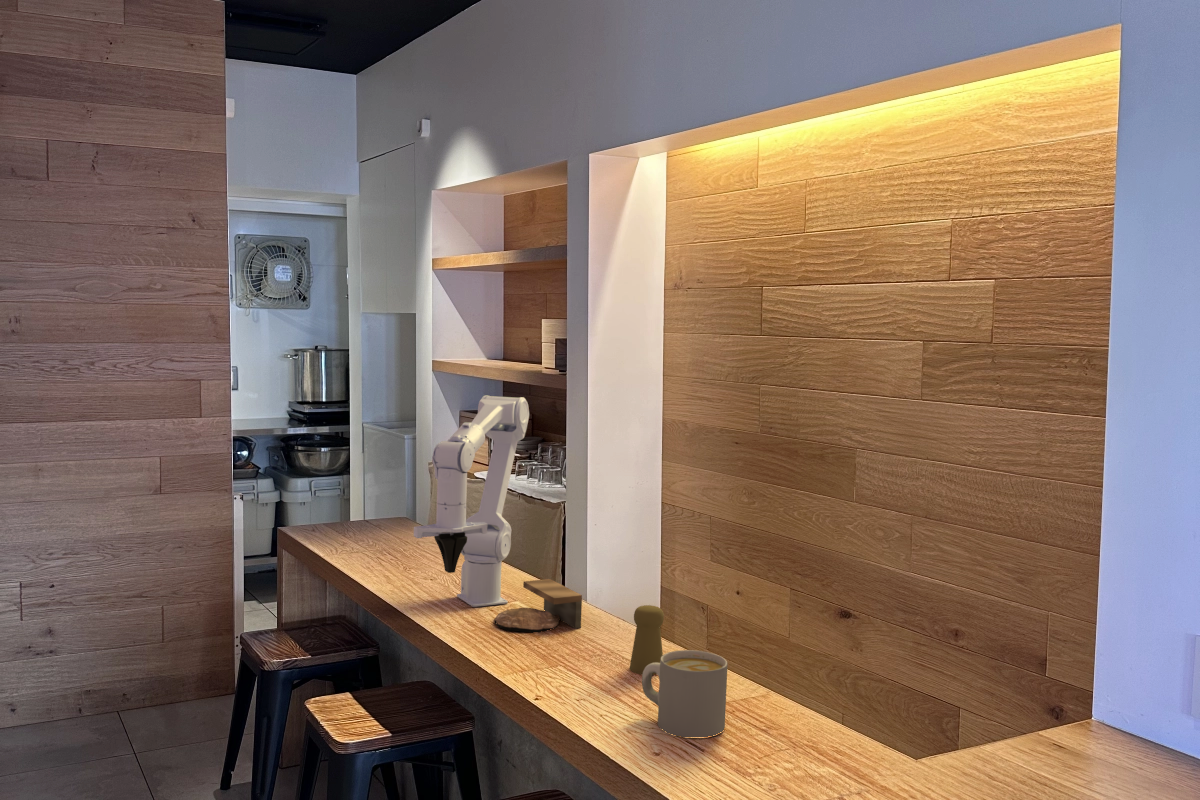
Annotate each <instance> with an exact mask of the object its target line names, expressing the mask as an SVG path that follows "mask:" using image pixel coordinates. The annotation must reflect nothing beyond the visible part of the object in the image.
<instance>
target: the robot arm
mask: <svg viewBox="0 0 1200 800" xmlns="http://www.w3.org/2000/svg"><path fill="white" fill-rule="evenodd" d="M529 407H530V406H529V404H528V401H527V399H526V398H525V397H524V396H523V397H521V396H520V397H511V396H495V395H494V396H493V395H491V396H490V395H487V394H486V395H483V396H482V397H481V399H480V400H479V401H478V406H477V414H476V415H475V416H474V418H473V419H472V421H471V422H470V421H469V422H462V424H461V426H459V427H458V429H457V430H456V431H455V432H454V433H453V434H452V435H451V436H450V437H449V438H448V440H442V441H440V442H439V443H437V444H436V445H435V447H434V449H433V453H432V456H431V461H432V462H431V463H432V465H433V468H434V478H435V479H436V483H437V484H436V485H437V486H436V519H435V520H436V523H432V524H425V525H419V526H417V525H416V526H413V537H414V538H416V539H422V538H427V537H429V538H431V537H433V538H434V541H435V543H436V544H437V547H438V549H439V552H440V554H441V557H442V561H443V567H444V568H443V569H444V571H445V572H446V573H448V574H451V573H452V574H453V573H456V568H457V565H458V561H459V559H460V556H461V555H462V556H463V557H464V558H463V560H464V562H463V563H462V564H461V572H460V573H461V574H460V593H457V594H456V597H457V598H458V599H460V600H461V601H463V602H465V603H466V604H468V605H469V606H470V607H473V608H476V607H486V606H495V605H496V606H497V605H505V604H508V600H507V599H505V598H504V597H502V596H501V595H502V594H501V593H502V587H501V586H502V561H504V560H505V559H506V558H507V557H508V556H509V554H510V550H511V547H512V539H511V537H512V527H511V524H510V523H509V522H508V521H507V520H506V519H505V518H504V517H503V512H504V507H505V502H506V497H507V494H508V493H507V492H508V488H509V482H510V478H511V473H512V469H513V466H514V465H513V464H514V460H515V456H516V451H517V446H518V442H519V441H521V440H523V439H524V438H525V436H526V433H527V429H528V423H529V419H530V409H529ZM486 437H488V438H489V439H491V440H493V446H492V450H491V455H490V460H489V465H488V468H487V471H486V476H485V482H484V486H483V491H482V495H481V500H480V503H479V509H478V511H477V512H475V513H474V514H473V515H470V516H469V517H468V518H467V497H468V496H467V494H468V493H467V491H468V490H467V489H468V472H469V471H470V470H471V468H472V465H473V462H474V459H475V457H476V453H477V452H478V451H479V449H480V448H481V447H482V446H483V445H484V444H485V440H486Z"/></svg>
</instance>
